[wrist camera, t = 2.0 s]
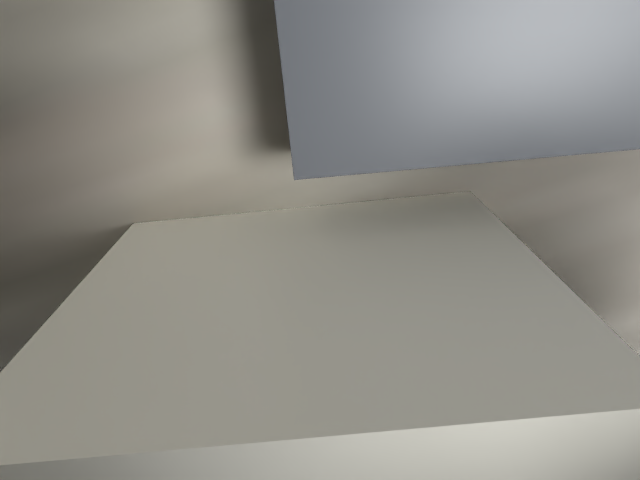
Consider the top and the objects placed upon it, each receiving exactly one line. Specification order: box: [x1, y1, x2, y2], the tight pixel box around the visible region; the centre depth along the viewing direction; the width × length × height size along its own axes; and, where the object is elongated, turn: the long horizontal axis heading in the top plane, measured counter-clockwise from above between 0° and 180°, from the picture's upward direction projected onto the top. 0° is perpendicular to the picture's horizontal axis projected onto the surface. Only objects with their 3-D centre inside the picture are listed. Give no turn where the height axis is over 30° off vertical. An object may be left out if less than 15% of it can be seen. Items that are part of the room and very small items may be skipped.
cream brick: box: [0, 191, 640, 480], centre depth 7 cm, size 6×6×5 cm
